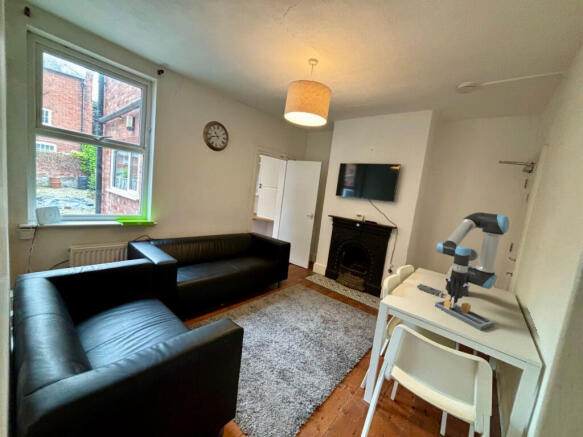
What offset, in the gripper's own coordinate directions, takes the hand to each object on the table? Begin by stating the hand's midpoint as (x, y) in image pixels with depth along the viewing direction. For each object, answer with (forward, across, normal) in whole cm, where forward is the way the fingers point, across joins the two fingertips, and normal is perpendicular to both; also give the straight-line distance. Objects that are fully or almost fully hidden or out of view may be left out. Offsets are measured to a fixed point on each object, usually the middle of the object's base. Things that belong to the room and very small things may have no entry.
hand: (452, 307), depth 144 cm
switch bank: (+4, +4, +3) cm, 7 cm away
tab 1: (+1, -2, 0) cm, 3 cm away
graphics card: (+4, -26, +19) cm, 32 cm away
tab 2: (+2, +4, +7) cm, 8 cm away
